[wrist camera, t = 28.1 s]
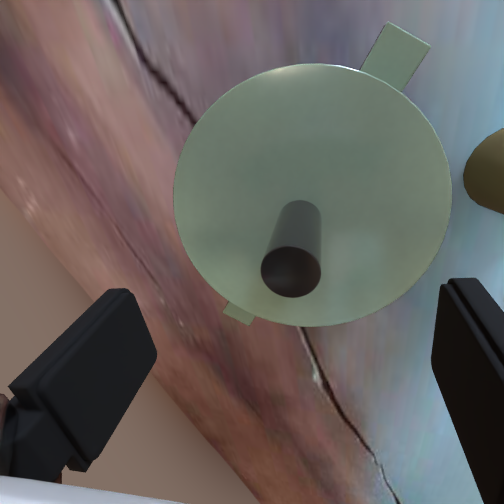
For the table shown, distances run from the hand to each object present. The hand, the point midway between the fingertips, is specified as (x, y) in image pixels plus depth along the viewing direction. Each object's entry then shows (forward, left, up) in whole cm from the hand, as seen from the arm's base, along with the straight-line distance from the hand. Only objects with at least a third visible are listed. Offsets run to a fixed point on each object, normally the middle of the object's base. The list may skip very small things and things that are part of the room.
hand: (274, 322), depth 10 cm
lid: (0, 0, -11) cm, 11 cm away
